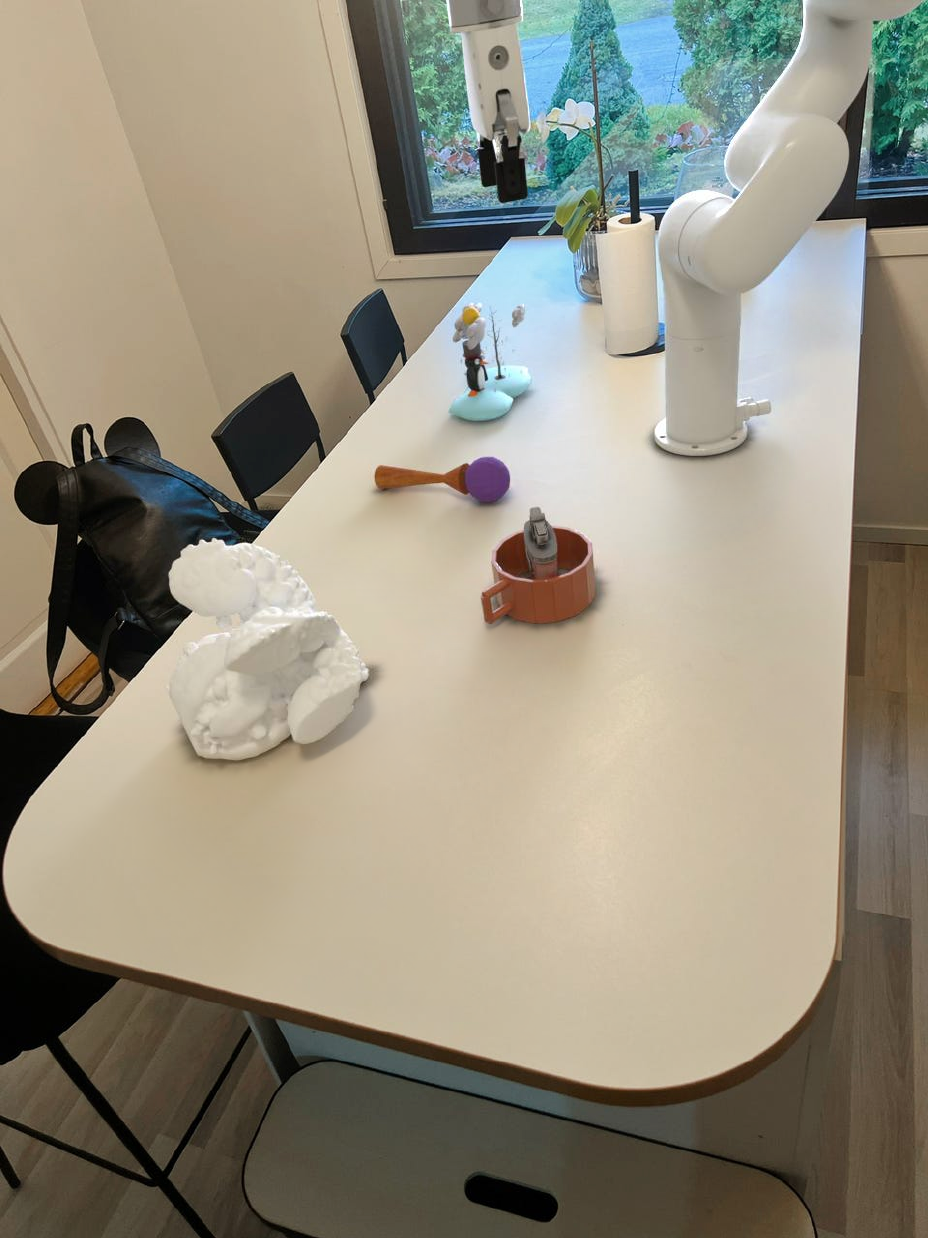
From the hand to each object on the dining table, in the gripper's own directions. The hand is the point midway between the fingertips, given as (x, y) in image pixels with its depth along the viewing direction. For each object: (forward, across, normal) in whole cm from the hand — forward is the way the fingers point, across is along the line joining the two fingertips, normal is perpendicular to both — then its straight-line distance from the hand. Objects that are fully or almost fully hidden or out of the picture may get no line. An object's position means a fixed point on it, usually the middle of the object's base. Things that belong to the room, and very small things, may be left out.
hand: (504, 192), depth 99 cm
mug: (+36, -28, +7) cm, 46 cm away
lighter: (+37, -27, +5) cm, 46 cm away
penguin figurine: (+36, +29, 0) cm, 47 cm away
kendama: (+37, +1, +12) cm, 39 cm away
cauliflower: (+37, -38, +35) cm, 63 cm away
